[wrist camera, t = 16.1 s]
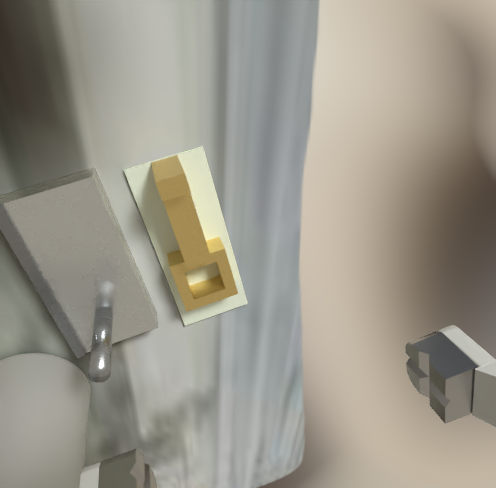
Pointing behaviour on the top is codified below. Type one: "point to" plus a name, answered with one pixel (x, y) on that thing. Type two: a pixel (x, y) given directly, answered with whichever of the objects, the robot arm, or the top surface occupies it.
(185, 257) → the brass hook
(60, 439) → the cylinder vase
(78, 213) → the toggle switch block
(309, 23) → the top surface
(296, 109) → the top surface
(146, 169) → the sage mat
